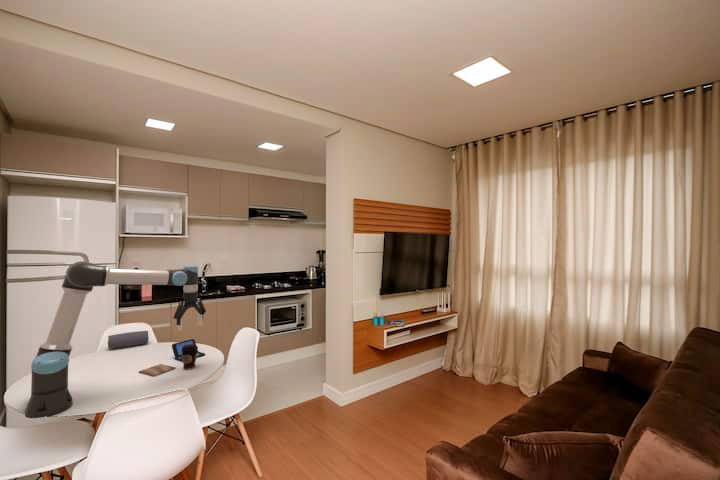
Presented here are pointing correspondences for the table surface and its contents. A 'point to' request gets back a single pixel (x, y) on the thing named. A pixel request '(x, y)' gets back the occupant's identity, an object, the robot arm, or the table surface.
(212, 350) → the table surface
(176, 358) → the handheld game console
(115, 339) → the bluetooth speaker
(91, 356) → the table surface
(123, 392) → the table surface
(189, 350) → the coffee cup
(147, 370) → the walnut board
